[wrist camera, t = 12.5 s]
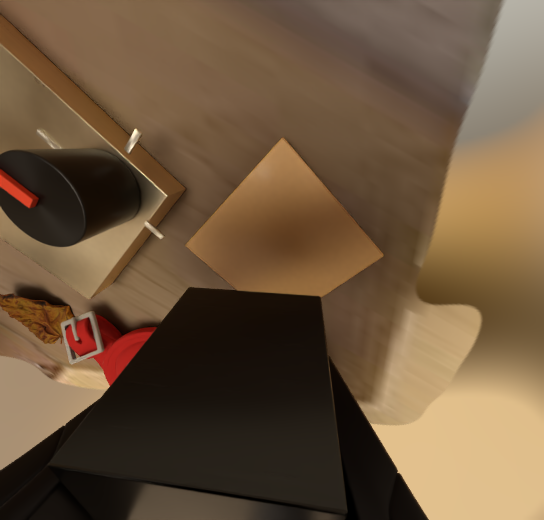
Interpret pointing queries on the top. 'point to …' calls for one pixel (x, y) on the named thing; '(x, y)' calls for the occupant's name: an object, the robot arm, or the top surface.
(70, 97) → the plate
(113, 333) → the tracker holder
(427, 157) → the top surface
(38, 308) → the leaf
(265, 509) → the black block
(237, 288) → the cork trivet
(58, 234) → the hob knob
